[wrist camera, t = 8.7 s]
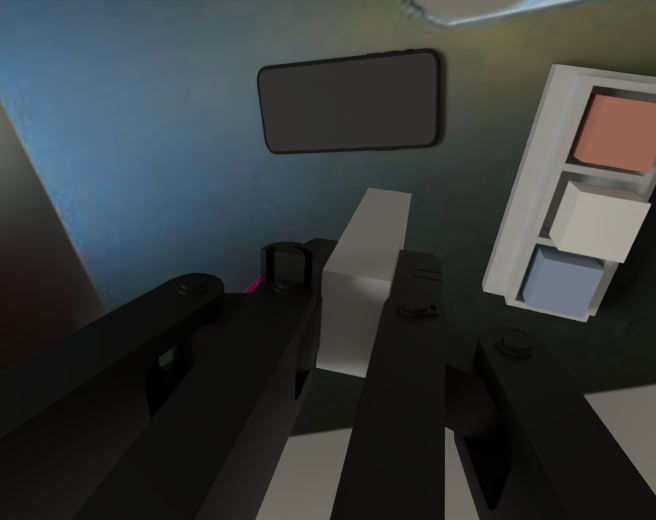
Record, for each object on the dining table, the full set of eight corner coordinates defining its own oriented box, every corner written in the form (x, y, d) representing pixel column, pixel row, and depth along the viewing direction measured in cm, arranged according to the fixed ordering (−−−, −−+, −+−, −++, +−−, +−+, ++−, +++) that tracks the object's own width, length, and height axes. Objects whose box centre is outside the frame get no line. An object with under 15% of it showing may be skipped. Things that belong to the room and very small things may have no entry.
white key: (569, 180, 29) (581, 191, 27) (632, 191, 29) (651, 204, 26) (548, 234, 31) (558, 249, 29) (608, 246, 31) (623, 263, 28)
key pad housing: (552, 64, 31) (565, 63, 27) (691, 82, 29) (724, 84, 26) (482, 283, 39) (485, 305, 35) (589, 307, 37) (604, 332, 34)
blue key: (537, 243, 34) (544, 258, 31) (591, 254, 33) (604, 270, 30) (520, 288, 35) (526, 306, 33) (572, 299, 35) (582, 318, 32)
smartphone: (253, 66, 36) (440, 45, 32) (257, 66, 37) (440, 46, 32) (265, 156, 39) (439, 148, 34) (269, 154, 39) (439, 146, 35)
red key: (591, 93, 29) (606, 96, 26) (657, 102, 28) (678, 106, 26) (569, 153, 31) (581, 161, 28) (631, 163, 30) (648, 173, 27)
